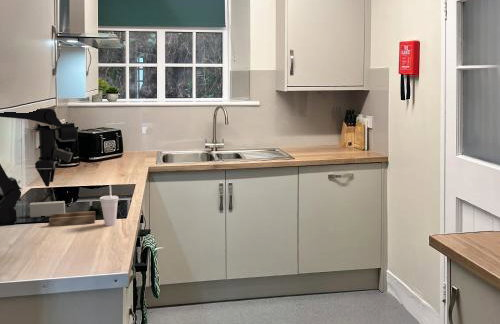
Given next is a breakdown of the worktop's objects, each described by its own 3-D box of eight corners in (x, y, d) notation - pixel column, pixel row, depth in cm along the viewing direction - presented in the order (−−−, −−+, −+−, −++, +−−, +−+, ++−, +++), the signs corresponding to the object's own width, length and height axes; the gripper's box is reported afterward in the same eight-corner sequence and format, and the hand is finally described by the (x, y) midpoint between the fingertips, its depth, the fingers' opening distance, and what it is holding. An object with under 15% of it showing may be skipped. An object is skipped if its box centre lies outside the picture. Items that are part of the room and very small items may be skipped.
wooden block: (49, 226, 186) (49, 218, 185) (52, 220, 193) (51, 213, 192) (94, 223, 189) (94, 216, 189) (95, 218, 196) (95, 211, 196)
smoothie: (120, 226, 185) (118, 186, 183) (100, 227, 183) (98, 187, 181) (119, 221, 191) (117, 182, 189) (100, 222, 189) (98, 184, 187)
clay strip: (30, 217, 198) (29, 204, 197) (31, 215, 201) (30, 202, 200) (64, 215, 201) (63, 202, 200) (65, 213, 204) (64, 200, 203)
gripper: (67, 144, 189) (69, 188, 191) (73, 139, 207) (75, 179, 209) (33, 145, 187) (36, 189, 189) (43, 140, 205) (45, 180, 207)
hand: (49, 184), depth 199 cm, fingers open, 9 cm apart
